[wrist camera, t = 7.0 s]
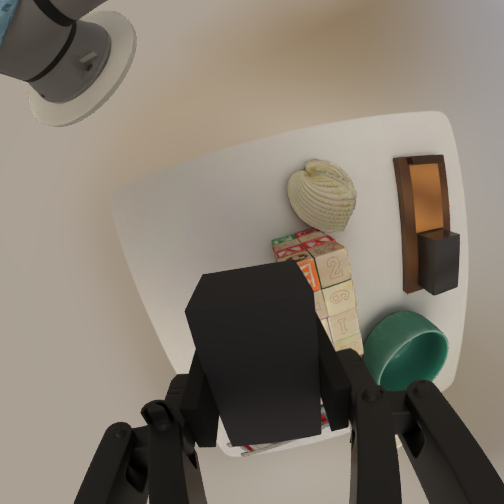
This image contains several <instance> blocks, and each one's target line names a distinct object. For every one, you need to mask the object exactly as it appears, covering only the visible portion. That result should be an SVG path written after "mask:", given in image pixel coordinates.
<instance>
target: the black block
mask: <svg viewBox="0 0 504 504" xmlns="http://www.w3.org/2000/svg"><path fill="white" fill-rule="evenodd" d="M185 314H186V317H187V321H188V324H189V328H190V331H191V334H192V337H193V341H194V344H195V347H196V350H197V353H198V356H199V359H200V362H201V365H202V368H203V371H204V372H205V374H206V377H207V380H208V383H209V386H210V389H211V391H212V394H213V397H214V400H215V402H216V405H217V408H218V410H219V415H220V418H221V420H222V423H223V425H224V428H225V430H226V433H227V435H228V437H229V440H230V442H231V445H232V446H233V447H235V446H248V445H259V444H267V443H275V442H282V441H289V440H295V439H300V438H306V437H311V436H316V435H320V434H321V392H320V369H319V351H318V336H317V322H316V310H315V299H314V290H313V289H312V287H311V285H310V284H309V282H308V280H307V279H306V277H305V275H304V274H303V272H302V271H301V269H300V267H299V266H298V264H297V262H296V261H295V259H293V260H287V261H282V262H276V263H270V264H264V265H258V266H252V267H246V268H240V269H234V270H228V271H221V272H215V273H209V274H203V275H202V277H201V279H200V281H199V283H198V285H197V287H196V289H195V291H194V293H193V295H192V297H191V299H190V301H189V303H188V305H187V307H186V309H185Z"/></svg>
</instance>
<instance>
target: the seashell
mask: <svg viewBox="0 0 504 504" xmlns="http://www.w3.org/2000/svg"><path fill="white" fill-rule="evenodd" d="M305 168H306V171H307V172H306V171H304V170H299V171H296V172H295V173H293V174H292V176H291V177H290V179H289V182H288V197H289V201H290V203H291V206H292V208H293V209H294V211H295V212H296V214H297V215H298V216H299V217H300V218H301V219H302V220H303V221H304V222H305V223H307V224H308V225H310V226H311V227H313V228H316V229H318V230H321V231H326V232H341V231H344V229H345V226H346V223H347V222H348V220H349V218H350V216H351V214H352V212H353V210H354V209H355V204H356V190H355V188H354V185H353V183H352V181H351V179H350V178H349V177H348V175H347V174H346V173H345V172H344V171H343V170H342V169H341V168H340V167H338V166H336V165H335V164H332V163H331V162H328V161H323V160H317V159H312V160H309V161H308V162H307V163H306V165H305Z"/></svg>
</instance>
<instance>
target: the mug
mask: <svg viewBox="0 0 504 504" xmlns="http://www.w3.org/2000/svg"><path fill="white" fill-rule="evenodd" d="M448 348H449V347H448V340H447V338H446V336H445V335H444V334H443V333H442V332H441V331H440V330H439V329H438V328H437V327H436V326H435V325H434V324H433V323H431V322H430V321H429V320H427V319H426V318H425V317H423V316H422V315H420V314H418V313H415V312H411V311H401V312H397V313H394V314H392V315H390V316H388V317H386V318H385V319H383V320H382V321H381V322H379V323H378V324H377V325H376V326H375V327H374V329H373V330H372V331H371V333H370V334H369V336H368V338H367V340H366V342H365V345H364V349H363V351H364V353H363V362H364V364H365V365H366V367H367V369H368V370H369V372H370V374H371V375H372V377H373V379H374V381H375V382H376V384H377V385H380V386H382V387H384V388H385V389H386V390H388V391H400V390H407V387H408V385H409V384H410V383H412V382H413V381H415V380H420V379H423V380H428V381H431V382H432V381H433V380H434V379H435V378H436V376H437V375H438V374H439V372H440V371H441V369H442V367H443V365H444V363H445V361H446V358H447V355H448Z"/></svg>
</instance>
